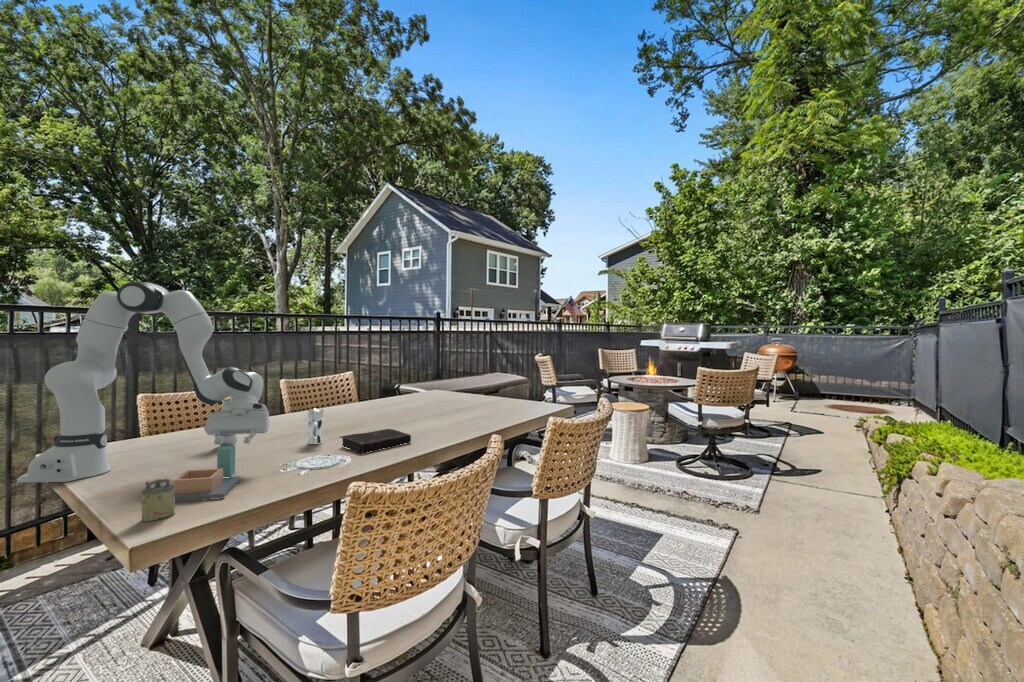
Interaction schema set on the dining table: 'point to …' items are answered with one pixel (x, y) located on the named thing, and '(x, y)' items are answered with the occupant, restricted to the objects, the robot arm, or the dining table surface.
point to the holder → (203, 485)
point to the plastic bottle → (227, 438)
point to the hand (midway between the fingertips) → (231, 443)
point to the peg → (226, 460)
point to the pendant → (318, 462)
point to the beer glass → (315, 425)
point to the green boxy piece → (158, 500)
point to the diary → (375, 440)
